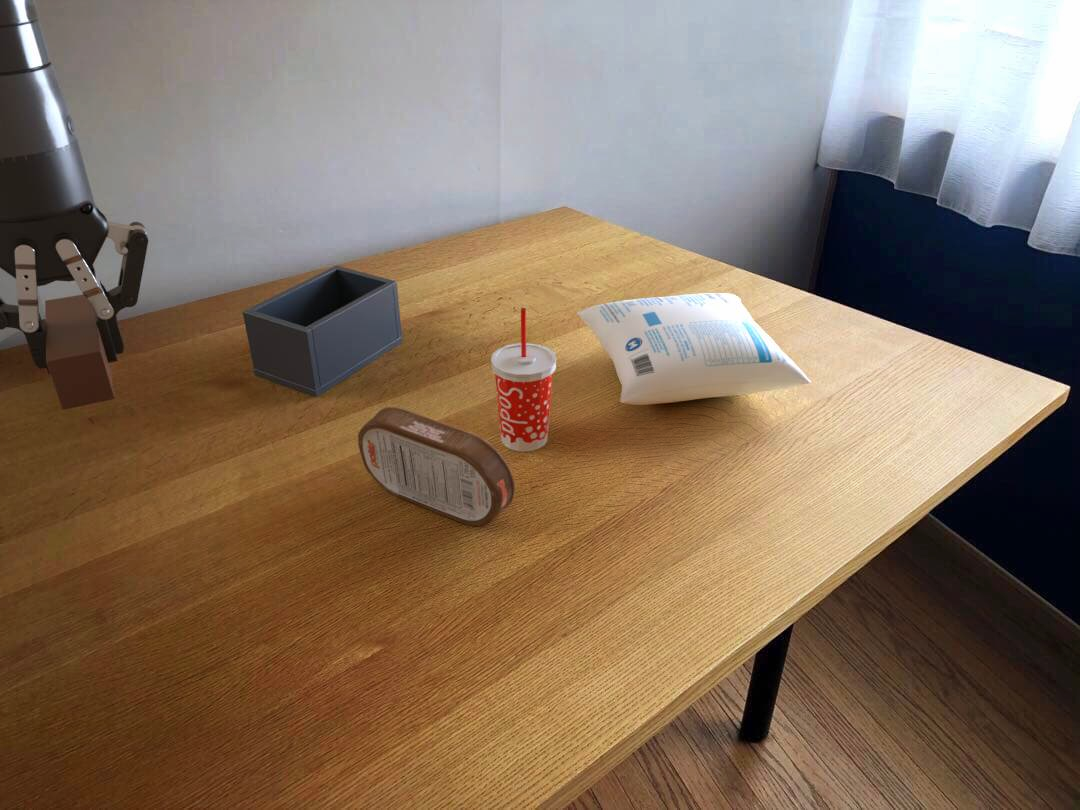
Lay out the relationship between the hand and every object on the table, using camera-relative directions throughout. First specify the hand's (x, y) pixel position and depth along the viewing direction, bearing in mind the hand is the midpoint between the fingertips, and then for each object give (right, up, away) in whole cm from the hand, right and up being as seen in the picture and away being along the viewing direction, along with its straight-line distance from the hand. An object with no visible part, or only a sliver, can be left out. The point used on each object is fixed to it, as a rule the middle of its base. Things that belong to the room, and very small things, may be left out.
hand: (82, 362), depth 66 cm
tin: (+26, -12, +9) cm, 30 cm away
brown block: (0, -1, 0) cm, 1 cm away
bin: (+11, +2, +32) cm, 34 cm away
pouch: (+51, 0, +29) cm, 59 cm away
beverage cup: (+34, -7, +18) cm, 39 cm away
